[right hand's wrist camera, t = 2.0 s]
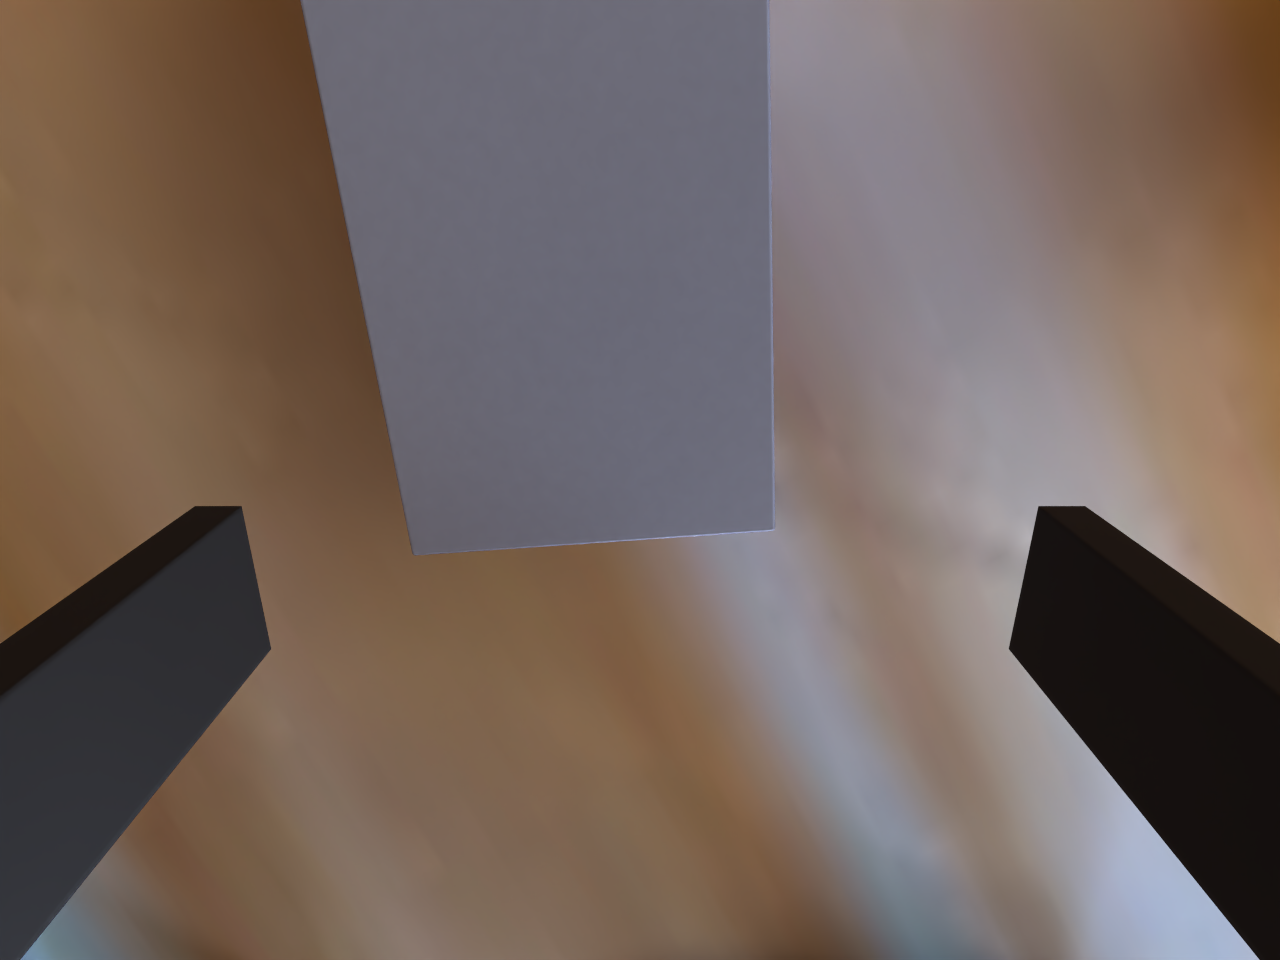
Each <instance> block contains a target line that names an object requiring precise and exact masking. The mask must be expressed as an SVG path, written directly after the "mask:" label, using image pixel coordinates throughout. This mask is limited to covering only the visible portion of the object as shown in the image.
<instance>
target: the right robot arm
mask: <svg viewBox="0 0 1280 960" xmlns="http://www.w3.org/2000/svg"><path fill="white" fill-rule="evenodd" d="M270 650H271V646H270V641H269V636H268V631H267V627H266V622H265V617H264V612H263V607H262V603H261V598H260V593H259V588H258V583H257V579H256V574H255V569H254V564H253V559H252V555H251V550H250V545H249V540H248V535H247V531H246V526H245V521H244V516H243V511H242V507H241V506H195V507H193V508H192V509H190V510H189V511H188V512H186V513H185V514H183V515H182V516H180V517H179V518H178V519H176V520H175V521H173V522H172V523H171V524H169V525H168V526H166V527H165V528H163V529H162V530H161V531H159V532H158V533H156V534H155V535H154V536H152V537H151V538H149V539H148V540H147V541H145V542H144V543H142V544H141V545H139V546H138V547H137V548H135V549H134V550H132V551H131V552H130V553H128V554H127V555H125V556H124V557H122V558H121V559H120V560H118V561H117V562H115V563H114V564H113V565H111V566H110V567H108V568H107V569H105V570H104V571H103V572H101V573H100V574H98V575H97V576H96V577H94V578H93V579H91V580H90V581H88V582H87V583H86V584H84V585H83V586H81V587H80V588H79V589H77V590H76V591H74V592H73V593H71V594H70V595H69V596H67V597H66V598H64V599H63V600H62V601H60V602H59V603H57V604H56V605H54V606H53V607H52V608H50V609H49V610H47V611H46V612H45V613H43V614H42V615H40V616H39V617H37V618H36V619H35V620H33V621H32V622H30V623H29V624H28V625H26V626H25V627H23V628H22V629H21V630H19V631H18V632H16V633H15V634H13V635H12V636H11V637H9V638H8V639H6V640H5V641H4V642H2V643H1V644H0V960H20V959H21V958H22V957H23V956H24V955H25V953H26V952H27V951H28V950H29V948H30V947H31V946H32V945H33V943H34V942H35V941H36V940H37V938H38V937H39V936H40V935H41V933H42V932H43V931H44V930H45V929H46V927H47V926H48V925H49V924H50V922H51V921H52V920H53V919H54V917H55V916H56V915H57V914H58V912H59V911H60V910H61V909H62V907H63V906H64V905H65V904H66V902H67V901H68V900H69V899H70V898H71V896H72V895H73V894H74V893H75V891H76V890H77V889H78V888H79V886H80V885H81V884H82V883H83V881H84V880H85V879H86V878H87V876H88V875H89V874H90V873H91V872H92V870H93V869H94V868H95V867H96V865H97V864H98V863H99V862H100V860H101V859H102V858H103V857H104V855H105V854H106V853H107V852H108V850H109V849H110V848H111V847H112V845H113V844H114V843H115V842H116V841H117V839H118V838H119V837H120V836H121V834H122V833H123V832H124V831H125V829H126V828H127V827H128V826H129V824H130V823H131V822H132V821H133V819H134V818H135V817H136V816H137V815H138V813H139V812H140V811H141V810H142V808H143V807H144V806H145V805H146V803H147V802H148V801H149V800H150V798H151V797H152V796H153V795H154V793H155V792H156V791H157V790H158V789H159V787H160V786H161V785H162V784H163V782H164V781H165V780H166V779H167V777H168V776H169V775H170V774H171V772H172V771H173V770H174V769H175V767H176V766H177V765H178V764H179V762H180V761H181V760H182V759H183V758H184V756H185V755H186V754H187V753H188V751H189V750H190V749H191V748H192V746H193V745H194V744H195V743H196V741H197V740H198V739H199V738H200V736H201V735H202V734H203V733H204V732H205V730H206V729H207V728H208V727H209V725H210V724H211V723H212V722H213V720H214V719H215V718H216V717H217V715H218V714H219V713H220V712H221V710H222V709H223V708H224V707H225V705H226V704H227V703H228V702H229V701H230V699H231V698H232V697H233V696H234V694H235V693H236V692H237V691H238V689H239V688H240V687H241V686H242V684H243V683H244V682H245V681H246V679H247V678H248V677H249V676H250V675H251V673H252V672H253V671H254V670H255V668H256V667H257V666H258V665H259V663H260V662H261V661H262V660H263V658H264V657H265V656H266V655H267V653H268V652H269V651H270ZM1009 650H1010V651H1011V652H1012V653H1013V655H1014V656H1015V657H1016V658H1017V660H1018V661H1019V662H1020V663H1021V665H1022V666H1023V667H1024V668H1025V670H1026V671H1027V672H1028V673H1029V675H1030V676H1031V677H1032V678H1033V679H1034V681H1035V682H1036V683H1037V684H1038V686H1039V687H1040V688H1041V689H1042V691H1043V692H1044V693H1045V694H1046V696H1047V697H1048V698H1049V699H1050V701H1051V702H1052V703H1053V704H1054V705H1055V707H1056V708H1057V709H1058V710H1059V712H1060V713H1061V714H1062V715H1063V717H1064V718H1065V719H1066V720H1067V722H1068V723H1069V724H1070V725H1071V727H1072V728H1073V729H1074V730H1075V732H1076V733H1077V734H1078V735H1079V736H1080V738H1081V739H1082V740H1083V741H1084V743H1085V744H1086V745H1087V746H1088V748H1089V749H1090V750H1091V751H1092V753H1093V754H1094V755H1095V756H1096V758H1097V759H1098V760H1099V761H1100V762H1101V764H1102V765H1103V766H1104V767H1105V769H1106V770H1107V771H1108V772H1109V774H1110V775H1111V776H1112V777H1113V779H1114V780H1115V781H1116V782H1117V784H1118V785H1119V786H1120V787H1121V789H1122V790H1123V791H1124V792H1125V793H1126V795H1127V796H1128V797H1129V798H1130V800H1131V801H1132V802H1133V803H1134V805H1135V806H1136V807H1137V808H1138V810H1139V811H1140V812H1141V813H1142V815H1143V816H1144V817H1145V818H1146V819H1147V821H1148V822H1149V823H1150V824H1151V826H1152V827H1153V828H1154V829H1155V831H1156V832H1157V833H1158V834H1159V836H1160V837H1161V838H1162V839H1163V841H1164V842H1165V843H1166V844H1167V846H1168V847H1169V848H1170V849H1171V850H1172V852H1173V853H1174V854H1175V855H1176V857H1177V858H1178V859H1179V860H1180V862H1181V863H1182V864H1183V865H1184V867H1185V868H1186V869H1187V870H1188V872H1189V873H1190V874H1191V875H1192V876H1193V878H1194V879H1195V880H1196V881H1197V883H1198V884H1199V885H1200V886H1201V888H1202V889H1203V890H1204V891H1205V893H1206V894H1207V895H1208V896H1209V898H1210V899H1211V900H1212V901H1213V902H1214V904H1215V905H1216V906H1217V907H1218V909H1219V910H1220V911H1221V912H1222V914H1223V915H1224V916H1225V917H1226V919H1227V920H1228V921H1229V922H1230V924H1231V925H1232V926H1233V927H1234V929H1235V930H1236V931H1237V932H1238V933H1239V935H1240V936H1241V937H1242V938H1243V940H1244V941H1245V942H1246V943H1247V945H1248V946H1249V947H1250V948H1251V950H1252V951H1253V952H1254V953H1255V955H1256V956H1257V957H1258V958H1259V959H1260V960H1280V644H1279V643H1278V642H1276V641H1275V640H1274V639H1272V638H1271V637H1269V636H1268V635H1267V634H1265V633H1264V632H1262V631H1261V630H1259V629H1258V628H1257V627H1255V626H1254V625H1252V624H1251V623H1250V622H1248V621H1247V620H1245V619H1244V618H1243V617H1241V616H1240V615H1238V614H1237V613H1235V612H1234V611H1233V610H1231V609H1230V608H1228V607H1227V606H1226V605H1224V604H1223V603H1221V602H1220V601H1218V600H1217V599H1216V598H1214V597H1213V596H1211V595H1210V594H1209V593H1207V592H1206V591H1204V590H1203V589H1201V588H1200V587H1199V586H1197V585H1196V584H1194V583H1193V582H1192V581H1190V580H1189V579H1187V578H1186V577H1184V576H1183V575H1182V574H1180V573H1179V572H1177V571H1176V570H1175V569H1173V568H1172V567H1170V566H1169V565H1167V564H1166V563H1165V562H1163V561H1162V560H1160V559H1159V558H1158V557H1156V556H1155V555H1153V554H1152V553H1150V552H1149V551H1148V550H1146V549H1145V548H1143V547H1142V546H1141V545H1139V544H1138V543H1136V542H1135V541H1133V540H1132V539H1131V538H1129V537H1128V536H1126V535H1125V534H1124V533H1122V532H1121V531H1119V530H1118V529H1116V528H1115V527H1114V526H1112V525H1111V524H1109V523H1108V522H1107V521H1105V520H1104V519H1102V518H1101V517H1100V516H1098V515H1097V514H1095V513H1094V512H1092V511H1091V510H1090V509H1088V508H1087V507H1085V506H1039V507H1038V511H1037V516H1036V521H1035V526H1034V531H1033V535H1032V540H1031V545H1030V550H1029V555H1028V559H1027V564H1026V569H1025V574H1024V579H1023V583H1022V588H1021V593H1020V598H1019V603H1018V607H1017V612H1016V617H1015V622H1014V627H1013V631H1012V636H1011V641H1010V646H1009Z"/></svg>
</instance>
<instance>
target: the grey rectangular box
mask: <svg viewBox="0 0 1280 960" xmlns="http://www.w3.org/2000/svg"><path fill="white" fill-rule="evenodd" d="M300 1H301V5H302V10H303V15H304V20H305V25H306V30H307V35H308V40H309V45H310V50H311V55H312V60H313V65H314V70H315V75H316V79H317V84H318V89H319V94H320V99H321V104H322V109H323V114H324V119H325V124H326V129H327V134H328V139H329V144H330V149H331V154H332V158H333V163H334V168H335V173H336V178H337V183H338V188H339V193H340V198H341V203H342V208H343V213H344V218H345V223H346V228H347V233H348V237H349V242H350V247H351V252H352V257H353V262H354V267H355V272H356V277H357V282H358V287H359V292H360V297H361V302H362V307H363V312H364V316H365V321H366V326H367V331H368V336H369V341H370V346H371V351H372V356H373V361H374V366H375V371H376V376H377V381H378V386H379V390H380V395H381V400H382V405H383V410H384V415H385V420H386V425H387V430H388V435H389V440H390V445H391V450H392V455H393V460H394V465H395V469H396V474H397V479H398V484H399V489H400V494H401V499H402V504H403V509H404V514H405V519H406V524H407V529H408V534H409V539H410V544H411V548H412V553H413V555H427V554H441V553H456V552H471V551H485V550H500V549H514V548H529V547H544V546H558V545H573V544H587V543H602V542H617V541H631V540H646V539H660V538H675V537H690V536H704V535H719V534H733V533H748V532H763V531H773V530H774V529H775V479H774V388H773V297H772V206H771V115H770V24H769V0H300Z"/></svg>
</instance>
